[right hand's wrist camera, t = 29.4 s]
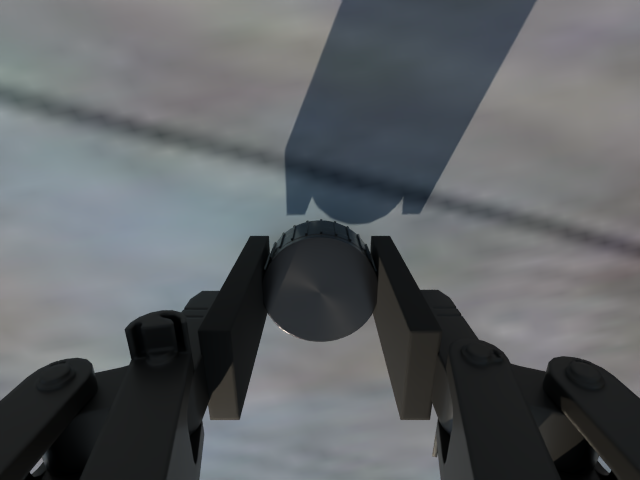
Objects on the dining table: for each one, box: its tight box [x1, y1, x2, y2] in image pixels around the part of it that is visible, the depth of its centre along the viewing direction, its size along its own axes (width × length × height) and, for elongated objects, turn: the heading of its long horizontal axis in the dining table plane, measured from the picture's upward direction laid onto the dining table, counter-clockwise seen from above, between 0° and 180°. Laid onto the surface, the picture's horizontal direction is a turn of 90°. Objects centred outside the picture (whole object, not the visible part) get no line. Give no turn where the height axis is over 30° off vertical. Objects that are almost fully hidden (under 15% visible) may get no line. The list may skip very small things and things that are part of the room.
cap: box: [262, 219, 378, 342], centre depth 14 cm, size 4×4×2 cm
